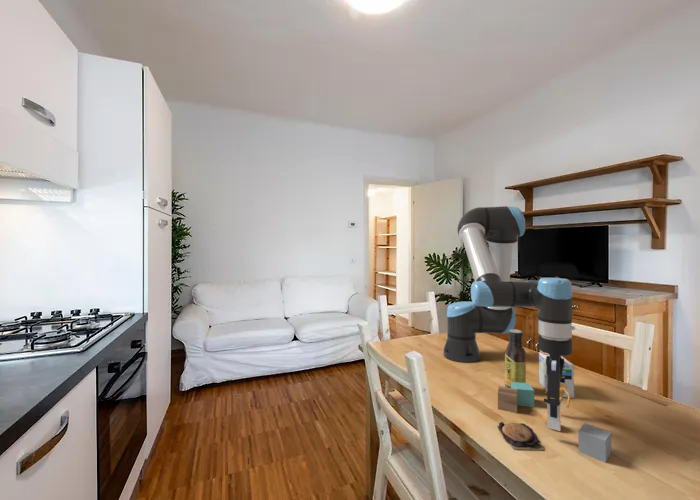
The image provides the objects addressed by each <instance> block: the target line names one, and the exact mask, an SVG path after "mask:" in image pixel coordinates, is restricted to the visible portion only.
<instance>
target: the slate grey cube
mask: <svg viewBox="0 0 700 500" xmlns="http://www.w3.org/2000/svg"><path fill="white" fill-rule="evenodd" d="M577 432H578V433H577V434H578V438H577V439H578V452H579V453H581V454H584V455H586V456H588V457H590V458H593V459H596V460H598V461H601V462H603V463H607V461H608V459H609V458H610V456H611V454H612V432H611V431H609V430H606V429H605V428H601V427H598V426H595V425H593V424H589V423H586V422H584V423H583V425H582V426H580V428H579V429H578V431H577Z"/></svg>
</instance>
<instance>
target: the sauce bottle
mask: <svg viewBox="0 0 700 500" xmlns="http://www.w3.org/2000/svg"><path fill="white" fill-rule="evenodd" d="M522 338H523V331H522V330H520V329H516V328H514V329H511V330H509V333H508V344H507V347H506V349H505V351H504V387H508V388H511V382H518V383H527V381H526V378H527V377H526V376H527V372H526V371H527V363H526V362H527V360H526V357H527V355H526V354H527V353H526V350H525V347H523V339H522Z"/></svg>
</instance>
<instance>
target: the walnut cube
mask: <svg viewBox="0 0 700 500" xmlns="http://www.w3.org/2000/svg"><path fill="white" fill-rule="evenodd" d="M497 410H500V411H505V412H510V413H514V414H518V405H517V389H513V388H508V387H505V386H503V385H502V386H501V385H498V389H497Z"/></svg>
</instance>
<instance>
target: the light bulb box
mask: <svg viewBox="0 0 700 500" xmlns="http://www.w3.org/2000/svg"><path fill="white" fill-rule="evenodd" d="M547 356H549V354H548V353H545V352H538V364H539V365H538V367H539V368H538V369H539V371H538V372H539V374H538V375H539V376H538V377H539V379H538V380H539V382H538V383H539V384H540V385H541V386H542V387H543V388H544V389H545V391H546V390H547V386H548V376H547V373H546V371H547V366H546V359H547ZM561 358H563V359H564V368H563V375H562V379H565V383H562V382H560V383H562V384H565V385H566V386H567V391H568V392H569V394H570V395H571V398H570V399H574V398H575V364H573V363H572V362H571V361H569V360H567V359H566V358H565V357H563V355H561ZM562 398H568V395H567V394H566V393H564V394H563V395H562Z"/></svg>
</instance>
